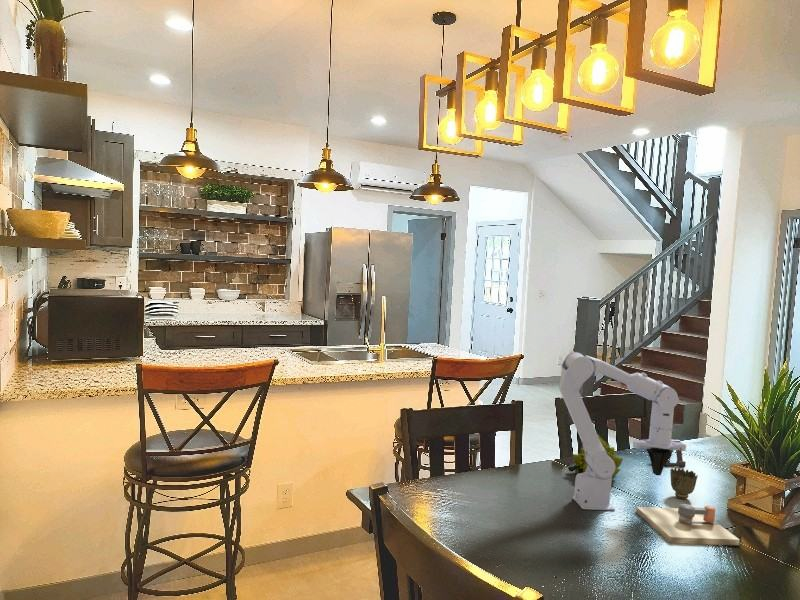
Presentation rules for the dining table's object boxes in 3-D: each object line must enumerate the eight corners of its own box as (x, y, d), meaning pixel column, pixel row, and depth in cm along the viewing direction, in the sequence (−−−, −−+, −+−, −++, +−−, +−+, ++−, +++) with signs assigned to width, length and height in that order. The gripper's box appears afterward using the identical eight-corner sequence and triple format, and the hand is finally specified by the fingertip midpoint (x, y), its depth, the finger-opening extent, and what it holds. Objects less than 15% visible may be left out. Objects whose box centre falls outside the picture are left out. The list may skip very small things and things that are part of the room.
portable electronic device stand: (660, 466, 203) (662, 443, 203) (650, 459, 211) (652, 436, 211) (685, 468, 203) (687, 444, 203) (674, 460, 211) (676, 438, 211)
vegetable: (558, 462, 188) (582, 424, 190) (576, 478, 198) (598, 442, 200) (597, 486, 177) (621, 444, 179) (613, 501, 186) (637, 462, 189)
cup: (698, 504, 170) (700, 477, 170) (671, 500, 172) (674, 474, 171) (690, 494, 177) (693, 469, 177) (665, 491, 179) (667, 466, 178)
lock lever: (682, 523, 151) (683, 509, 150) (674, 516, 155) (675, 503, 154) (718, 524, 151) (719, 511, 151) (708, 517, 155) (710, 504, 155)
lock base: (670, 542, 143) (671, 529, 143) (636, 512, 161) (637, 499, 161) (739, 545, 145) (740, 531, 144) (697, 514, 162) (699, 502, 162)
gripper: (642, 429, 158) (638, 478, 159) (693, 432, 159) (689, 480, 160) (631, 422, 165) (627, 469, 166) (679, 425, 166) (675, 471, 167)
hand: (656, 474), depth 163 cm, fingers closed
